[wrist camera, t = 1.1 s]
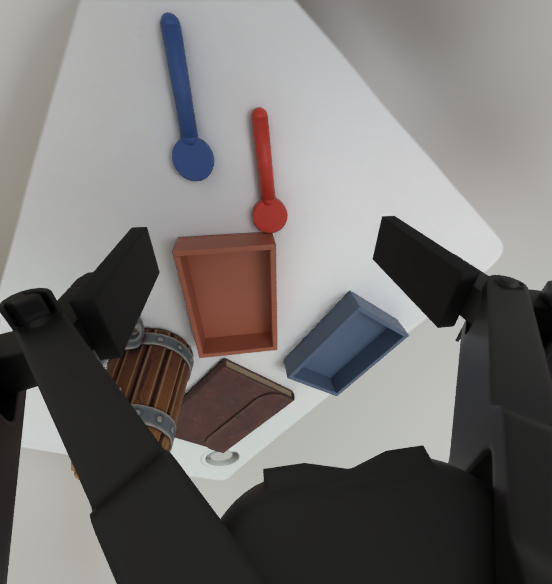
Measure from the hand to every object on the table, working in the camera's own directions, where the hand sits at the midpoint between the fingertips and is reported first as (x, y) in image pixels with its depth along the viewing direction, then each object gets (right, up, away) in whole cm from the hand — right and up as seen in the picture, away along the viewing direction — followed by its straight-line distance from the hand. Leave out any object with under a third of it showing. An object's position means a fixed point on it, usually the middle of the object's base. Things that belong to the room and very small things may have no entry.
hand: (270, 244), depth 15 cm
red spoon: (-1, +9, +11) cm, 14 cm away
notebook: (-9, -23, +32) cm, 40 cm away
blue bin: (+10, -10, +26) cm, 30 cm away
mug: (-17, -9, +21) cm, 29 cm away
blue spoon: (-7, +13, +8) cm, 17 cm away
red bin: (-5, -3, +18) cm, 19 cm away
